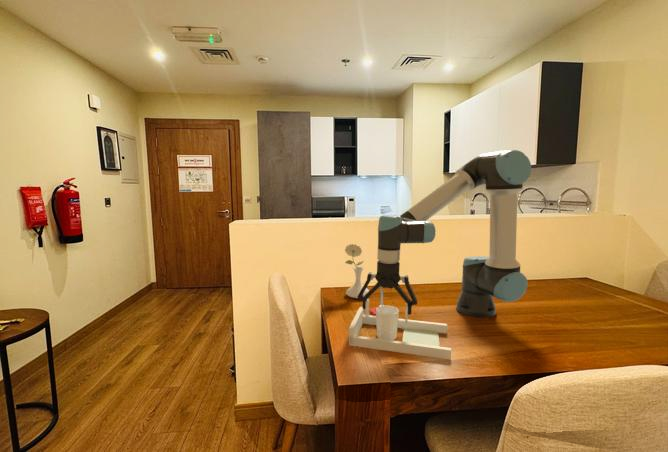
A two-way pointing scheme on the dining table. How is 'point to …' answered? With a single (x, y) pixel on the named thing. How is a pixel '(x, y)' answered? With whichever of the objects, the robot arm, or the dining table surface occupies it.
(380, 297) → the red ring on peg
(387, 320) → the white cup
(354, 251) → the flower in vase
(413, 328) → the bay
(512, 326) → the dining table surface
